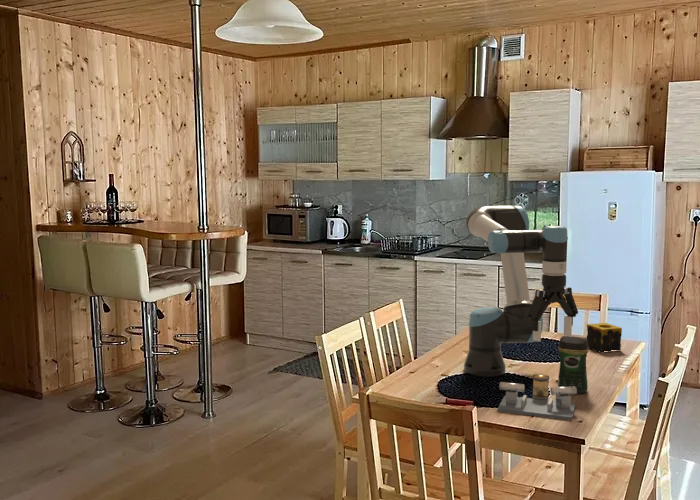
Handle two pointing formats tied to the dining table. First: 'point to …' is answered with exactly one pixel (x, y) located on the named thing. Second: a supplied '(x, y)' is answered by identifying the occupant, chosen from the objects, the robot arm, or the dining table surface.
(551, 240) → the robot arm
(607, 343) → the candle
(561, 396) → the shaft right
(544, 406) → the grey mounting plate
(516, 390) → the shaft left
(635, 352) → the dining table surface
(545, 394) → the cylinder
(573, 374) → the coffee jar
